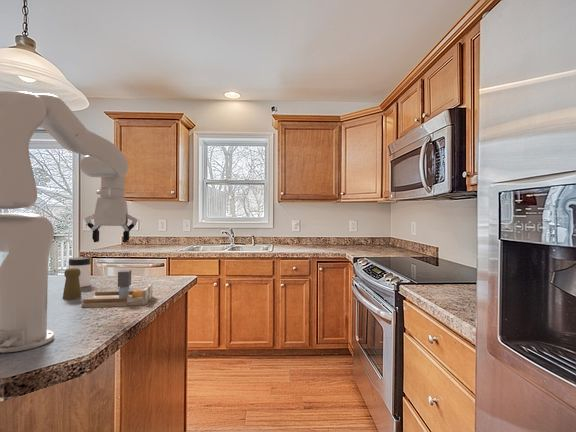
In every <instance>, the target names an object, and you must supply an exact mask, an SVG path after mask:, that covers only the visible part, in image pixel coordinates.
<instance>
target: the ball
mask: <svg viewBox="0 0 576 432" xmlns="http://www.w3.org/2000/svg"><path fill="white" fill-rule="evenodd" d="M133 291H134V292H133V293H132V298H137V297H142V291H143V290H141V289H136V290H135V289H134V290H133Z"/></svg>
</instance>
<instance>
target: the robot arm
mask: <svg viewBox="0 0 576 432" xmlns="http://www.w3.org/2000/svg"><path fill="white" fill-rule="evenodd" d="M38 128H42V129H43V130H45V131H46V133H48V134H49V135H50V136H51V137H52V138H53V139H54V140H55V141H56V142H57V143H58V144H59V145H60V146H61V147H62V148H63V149H65V150H67V151H69V152H72V153H75V154H78V155H81V156H83V157H82V158H81V159H80V162H79V168H80V169H81V171H82V173H83V174H84V175H86V176H87V177H90V178H100V188H99V189H98V190H96V195H99V197H97V198H96V202H95V203H96V204H95V208H94V213H93V214H91V215H89V216H86V217H85V218H84V221H85V223H86V224H87V227H88V228H89V229H90V230H91V231H92V240H93V243H98V242H100V230H99V229H100V228H101V227H102V226H103V227H104V226H105V227H106V226H108V227H109V226H110V227H112V226H113V227H114V226H115V227H118V226H119V227H122V228H123V230H124V231H122V232H123V233H122V235H123V236H122V242H123V243H128V242H129V241H130V232H131V230H132V229H134V228H135V227H136V225H137V223H138V220H139V219H137V218H136V217H134V216H132V215H130V214H129V213H128V212H129V211H128V202H127V198H125V184H126V183H125V182H126V180H125V179H126V175H127V174H128V172H129V164H128V161H127V158H126V157H125V155H124V153H123V152H122V151H121V150H120V149H119V147H118V146H117V145H116V144H114V143H113V142H111V141H110V140H108V139H106V138H104V137H103V136H101V135H98V134H96V133H95V132H93V131H90V130H89V129H88V128H86V126H85V125H84V124H83V122H82V121H81V120H79V117H77V115H76V114H75V113H74V112H73V111H72V109H71V108H70V107H69V106H68V105H67V104H66V103H65V101H64V100H63V99H62V98H60V97H59V96H57V95H54V94H52V93H51V94H50V93H32V92H28V91H19V90H0V253H7V255H6V256H5V258H4V260H3V261H2V263H1V264H0V353H3V354H4V353H15V352H22V351H27V350H32V349H35V348H39V347H40V346H44V345H46V344H48V343H50V342H52V341H53V340H54V338H55V333H54V331H52V330H49V329H48V327H47V326H48V290H49V289H48V283H49V281H48V279H49V278H48V274H49V259H50V251H51V247H52V243H53V239H54V233H55V231H54V225H53V223H52V222H51V221H50V219H48V218H47V217H46V216H44V215H40V214H36V213H31V212H30V213H28V212H2V211H1V210H23V209H27V208H30V207H32V206H34V205H35V203H36V202H37V201H38V188H37V183H36V179H35V175H34V170H33V166H32V161H31V156H30V141H31V140H32V138H33V135H34V133H35V132H36V131H37V130H38ZM92 220H93V222H92ZM129 220H130V221H131V224H129ZM128 224H129V225H128Z"/></svg>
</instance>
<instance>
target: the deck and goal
mask: <svg viewBox="0 0 576 432" xmlns="http://www.w3.org/2000/svg"><path fill="white" fill-rule="evenodd" d="M134 291H135V290H129V295H128V296H127V297H126V298H119V290H118V291H117V290H114V291H113V290H112V291H110V290H108V291H107V290H105V291H95V292H94V296H91V297H90V298H84V299H83V298H82V299H83V300H82V303H81V308H103V307H106V308H108V307H110V308H111V307H127V306H146V305H147V304H148V302H149V301H150V300H151V299H152V298H153V283H149V284H148V285H146V286H145V287H144V289H142V290H141V291H142V297H137V298H132V293H133V292H134Z"/></svg>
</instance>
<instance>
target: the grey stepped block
mask: <svg viewBox="0 0 576 432" xmlns="http://www.w3.org/2000/svg"><path fill="white" fill-rule="evenodd" d="M131 285H132V270H131V269H130V270H129V269H127V270H126V269H124V270H123V269H121V270H119V271H118V272H117V288H118V291H119V298H126V297H127V296H128V295H129V291H130V286H131Z"/></svg>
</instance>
